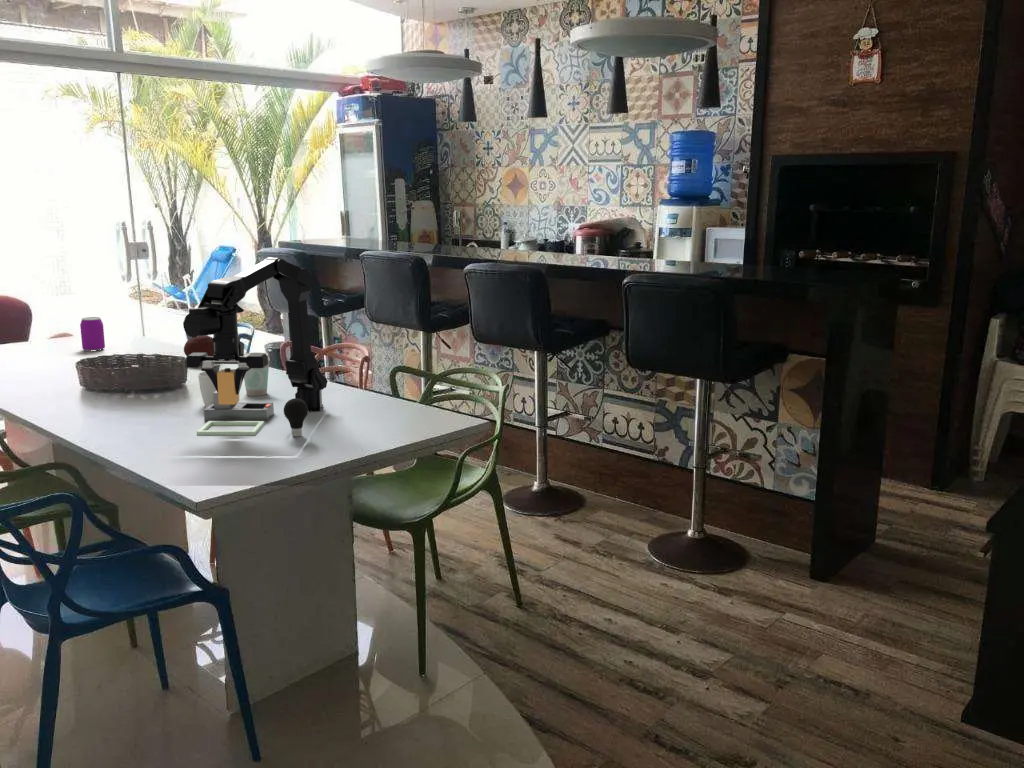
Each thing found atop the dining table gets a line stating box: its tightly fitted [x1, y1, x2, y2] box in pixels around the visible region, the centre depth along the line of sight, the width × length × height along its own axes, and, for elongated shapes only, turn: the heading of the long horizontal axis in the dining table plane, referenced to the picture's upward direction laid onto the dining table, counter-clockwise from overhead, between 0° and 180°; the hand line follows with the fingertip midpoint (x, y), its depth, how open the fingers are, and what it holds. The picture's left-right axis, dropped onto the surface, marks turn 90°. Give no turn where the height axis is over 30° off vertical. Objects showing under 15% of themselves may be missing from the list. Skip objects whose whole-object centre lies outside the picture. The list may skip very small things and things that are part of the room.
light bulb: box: [283, 398, 309, 438], centre depth 210 cm, size 6×6×10 cm
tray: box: [196, 421, 265, 436], centre depth 214 cm, size 14×10×2 cm
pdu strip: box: [203, 401, 275, 422], centre depth 225 cm, size 16×8×4 cm, turn 93°
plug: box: [217, 367, 240, 404], centre depth 211 cm, size 4×4×9 cm
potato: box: [183, 335, 214, 357], centre depth 298 cm, size 11×13×10 cm
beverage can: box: [79, 316, 106, 352], centre depth 319 cm, size 8×8×12 cm
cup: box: [197, 371, 216, 408], centre depth 237 cm, size 8×8×10 cm
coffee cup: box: [241, 351, 271, 397], centre depth 255 cm, size 8×9×12 cm
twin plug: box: [213, 390, 234, 409], centre depth 224 cm, size 4×4×8 cm
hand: (228, 394), depth 212 cm, fingers closed on plug, 4 cm apart
